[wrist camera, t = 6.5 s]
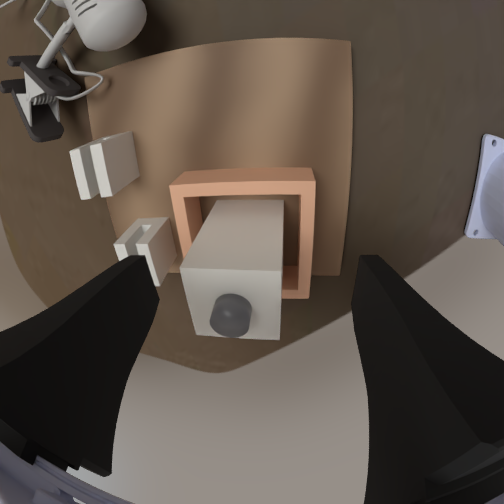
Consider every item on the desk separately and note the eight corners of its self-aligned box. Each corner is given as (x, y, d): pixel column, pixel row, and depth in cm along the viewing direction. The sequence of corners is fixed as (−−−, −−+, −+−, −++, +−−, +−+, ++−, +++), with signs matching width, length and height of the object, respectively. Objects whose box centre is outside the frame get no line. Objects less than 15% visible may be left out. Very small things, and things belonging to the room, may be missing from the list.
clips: (153, 126, 15) (124, 137, 12) (177, 255, 19) (159, 286, 17) (101, 137, 15) (69, 151, 12) (130, 255, 20) (109, 282, 17)
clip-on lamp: (28, 19, 12) (72, 145, 16) (-22, 20, 6) (-4, 165, 10) (105, -72, 6) (190, 19, 10) (54, -89, 1) (103, -20, 5)
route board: (346, 43, 12) (350, 41, 11) (337, 267, 20) (339, 275, 19) (93, 76, 14) (84, 77, 13) (132, 263, 22) (127, 270, 21)
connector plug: (283, 200, 16) (280, 288, 10) (283, 257, 18) (278, 356, 12) (217, 200, 17) (171, 283, 10) (223, 255, 19) (191, 350, 12)
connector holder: (311, 167, 15) (315, 181, 13) (307, 274, 19) (308, 298, 17) (184, 171, 16) (168, 185, 14) (201, 272, 20) (192, 295, 18)
